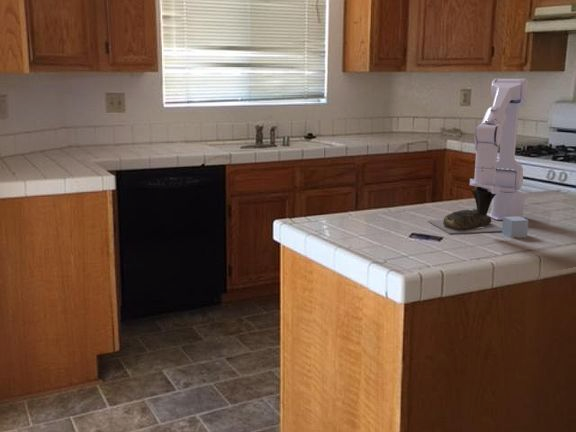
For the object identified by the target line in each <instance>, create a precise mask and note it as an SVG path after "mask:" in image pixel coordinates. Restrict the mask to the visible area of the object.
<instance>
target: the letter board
mask: <svg viewBox="0 0 576 432" xmlns="http://www.w3.org/2000/svg"><path fill="white" fill-rule="evenodd" d="M443 222H444V219H437V220H435V219H433V220H428V221H427V223H429V224H431V225H433V226H435V227H436V228H438V229H439V230H442V231H443V232H445V233H446V234H448V235H462V234H463V235H466V234H468V235H469V234H485V233H502V226H499V225H496V223H495V224H494V223H493V222H491V223H489V224H487V225H485V226H482V227H478V228H472V229H466V230H460V229H456V228H451V227H447V226H444V224H443Z"/></svg>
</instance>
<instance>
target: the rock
mask: <svg viewBox="0 0 576 432" xmlns="http://www.w3.org/2000/svg"><path fill="white" fill-rule="evenodd" d="M443 220H444V222H443V224H444V226H447V227H451V228H456V229H460V230H466V229H472V228H478V227H482V226H485V225H487V224H489V223H492V218H491V217H489V216H487V215H479V214H478V211H477V208H469V209H464V210H463V209H461V210H458V211H453V212H451V213H449V214H447V215H445V216H444V217H443Z"/></svg>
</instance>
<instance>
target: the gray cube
mask: <svg viewBox="0 0 576 432" xmlns="http://www.w3.org/2000/svg"><path fill="white" fill-rule="evenodd" d="M501 228H502V232H501V234H502V235H504V236H506V237H507V238H510V239H511V238H512V239H513V238H514V237H517V238H527V237H528V229H529V219H526V218H525V217H524V218H522V217H520V216H516V217H503V220H502V226H501ZM514 239H515V238H514Z"/></svg>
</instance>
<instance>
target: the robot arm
mask: <svg viewBox="0 0 576 432" xmlns="http://www.w3.org/2000/svg"><path fill="white" fill-rule="evenodd" d="M528 93H529V81H528V79H527V78H525V77H524V78H497V77H496V78H494V79H493V80H492V82H491V87H490V95H491V97H492V100H493V102H492V106H490V107H488V109H487V110H486V111H485V114H484V116H483V118H482V120H481V123H480V124H479V125H477V126H476V127H475V128H474V135H473V136H474V137H473V139H474V140H473V141H474V150H475V164H474V178H469V186H472V187H476V189H475V188H473V189H471V193H472V194H473V195H472V196H473V197H474V200H475V201H474V202H475V204H476V209H477V211H478V214H479V215H487V216H489V217H490V218H491V219H494V220H495V221H503V217H516V216H520V217H522V218H524V219H525V216H524V209H525V195H524V192H523V191H522V190H520V189H522V186H523V183H524V172H523V171H524V168H523V166H522V164H520V162H518V160H516V157H515V155H516V147H517V146H516V145H517V134H518V133H517V132H518V123H519V114H520V110H521V107H524V106H526V104H527V102H528ZM498 147H499V157H498ZM490 206H491V210H490V213H489V208H490Z"/></svg>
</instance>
